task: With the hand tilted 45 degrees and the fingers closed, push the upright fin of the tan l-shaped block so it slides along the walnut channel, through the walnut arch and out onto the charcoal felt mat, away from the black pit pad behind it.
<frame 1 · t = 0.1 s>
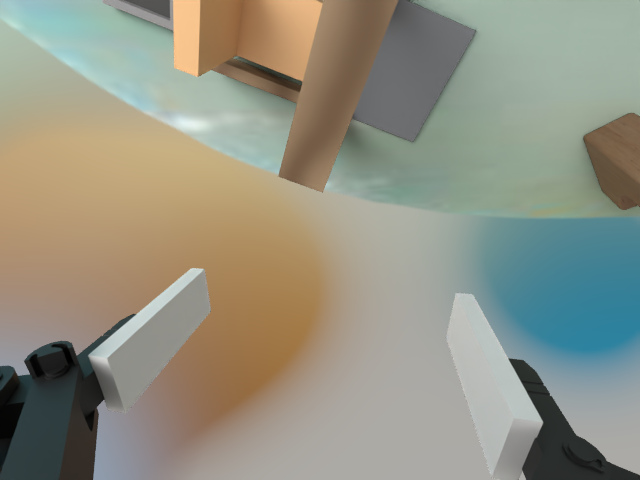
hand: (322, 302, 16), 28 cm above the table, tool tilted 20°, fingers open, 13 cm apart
felt mat: (394, 73, 33), on the table
tan l-shaped block: (270, 37, 27), point 6 cm above the table, slide at 0.0 cm
wooden block: (614, 153, 35), on the table
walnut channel: (321, 43, 32), on the table
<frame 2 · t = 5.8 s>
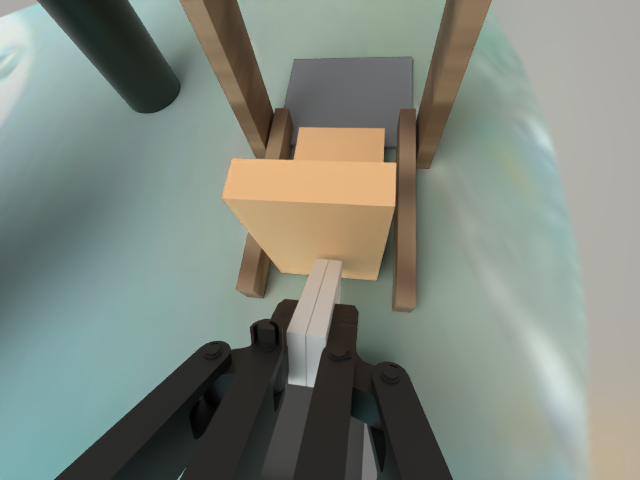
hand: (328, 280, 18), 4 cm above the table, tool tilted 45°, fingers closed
felt mat: (347, 101, 29), on the table
pit pad: (311, 431, 19), on the table
tan l-shaped block: (330, 162, 19), point 6 cm above the table, slide at 0.9 cm
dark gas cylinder: (155, 94, 33), on the table
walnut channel: (339, 175, 26), on the table
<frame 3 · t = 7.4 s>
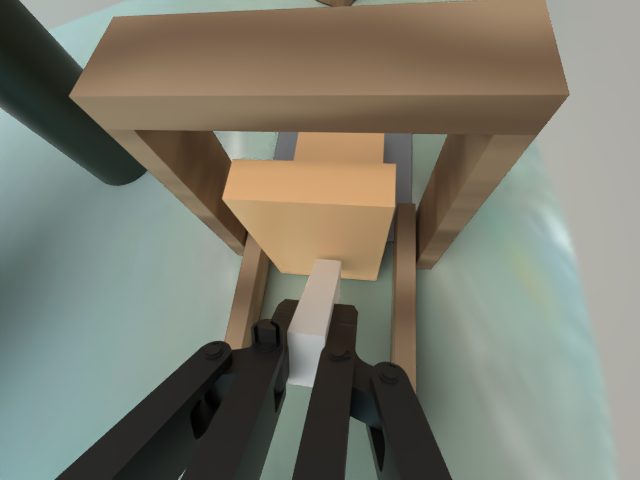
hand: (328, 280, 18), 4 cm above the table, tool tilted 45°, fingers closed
felt mat: (338, 178, 26), on the table
tan l-shaped block: (330, 163, 19), point 6 cm above the table, slide at 9.7 cm
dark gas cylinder: (127, 161, 29), on the table
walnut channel: (328, 274, 23), on the table
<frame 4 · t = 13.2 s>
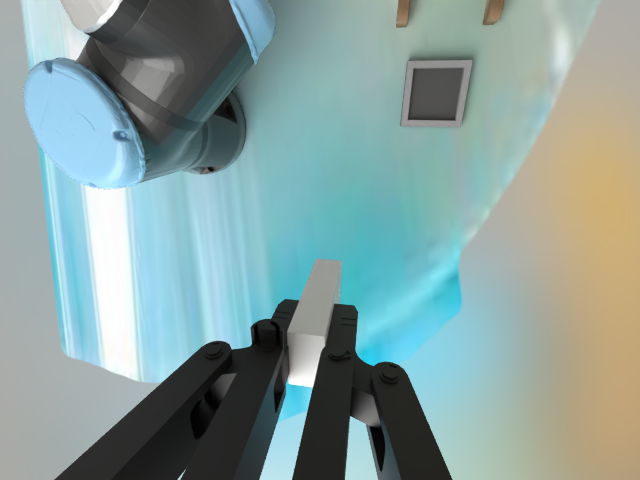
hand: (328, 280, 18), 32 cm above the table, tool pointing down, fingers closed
pit pad: (433, 95, 41), on the table
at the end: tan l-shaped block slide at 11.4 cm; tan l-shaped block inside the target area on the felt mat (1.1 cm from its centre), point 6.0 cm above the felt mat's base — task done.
